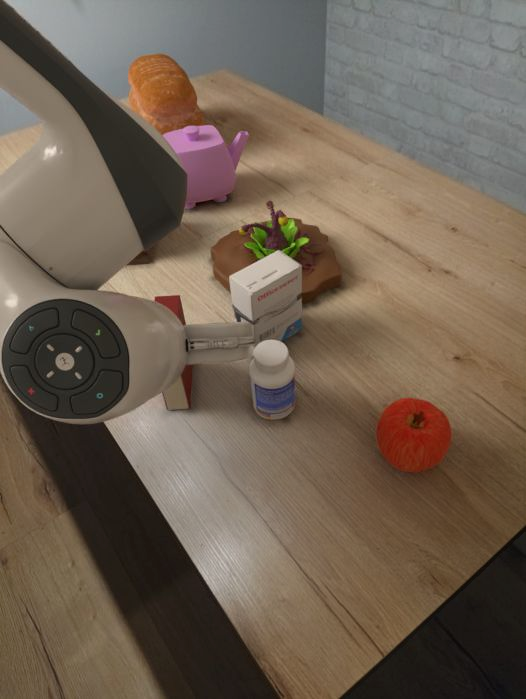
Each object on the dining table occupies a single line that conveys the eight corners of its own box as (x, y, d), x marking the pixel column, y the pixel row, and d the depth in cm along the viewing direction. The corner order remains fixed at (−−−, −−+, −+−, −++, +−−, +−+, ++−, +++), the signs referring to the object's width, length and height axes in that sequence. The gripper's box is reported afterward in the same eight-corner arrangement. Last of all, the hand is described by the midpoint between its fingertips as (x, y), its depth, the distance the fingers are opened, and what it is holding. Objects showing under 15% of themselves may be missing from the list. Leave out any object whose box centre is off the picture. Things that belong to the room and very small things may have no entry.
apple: (411, 412, 63) (424, 371, 57) (457, 463, 58) (476, 423, 52) (358, 440, 61) (365, 399, 55) (401, 495, 56) (414, 457, 50)
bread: (152, 171, 106) (135, 94, 95) (130, 120, 123) (114, 50, 111) (215, 158, 108) (206, 82, 97) (185, 110, 125) (175, 40, 114)
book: (166, 410, 65) (147, 346, 56) (171, 361, 70) (154, 296, 62) (190, 409, 65) (174, 345, 56) (193, 360, 70) (179, 294, 62)
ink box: (280, 312, 76) (278, 246, 68) (302, 330, 74) (304, 264, 65) (234, 340, 73) (226, 275, 64) (256, 360, 70) (251, 294, 61)
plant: (239, 324, 75) (233, 263, 66) (199, 250, 87) (190, 190, 79) (361, 286, 79) (369, 224, 71) (306, 221, 92) (308, 162, 83)
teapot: (157, 221, 93) (142, 155, 84) (145, 188, 102) (130, 123, 92) (261, 198, 97) (258, 132, 88) (241, 167, 105) (236, 104, 96)
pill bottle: (303, 409, 64) (305, 357, 57) (265, 428, 63) (262, 377, 55) (280, 380, 68) (279, 328, 60) (244, 397, 66) (239, 346, 59)
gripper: (253, 305, 44) (255, 310, 58) (16, 319, 44) (74, 320, 58) (257, 378, 45) (258, 365, 58) (21, 391, 45) (78, 376, 58)
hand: (165, 343), depth 58 cm, fingers open, 8 cm apart
